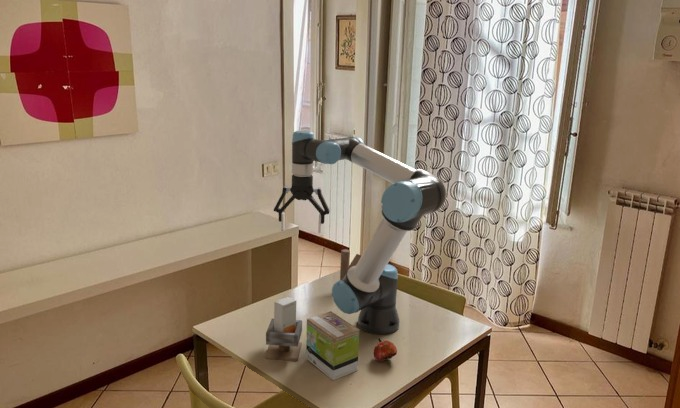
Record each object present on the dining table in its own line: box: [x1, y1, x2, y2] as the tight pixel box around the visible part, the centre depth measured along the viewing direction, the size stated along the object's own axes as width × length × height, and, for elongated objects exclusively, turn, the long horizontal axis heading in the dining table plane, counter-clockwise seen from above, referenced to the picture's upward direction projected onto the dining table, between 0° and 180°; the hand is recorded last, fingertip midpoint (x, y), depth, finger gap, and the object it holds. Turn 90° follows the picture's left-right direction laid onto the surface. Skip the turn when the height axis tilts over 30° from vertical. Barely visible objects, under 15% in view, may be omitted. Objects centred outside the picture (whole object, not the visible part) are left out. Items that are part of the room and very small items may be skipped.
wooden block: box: [339, 248, 362, 281], centre depth 229 cm, size 4×11×18 cm, turn 135°
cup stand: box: [265, 318, 303, 362], centre depth 180 cm, size 10×10×9 cm
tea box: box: [305, 310, 360, 381], centre depth 172 cm, size 15×10×15 cm
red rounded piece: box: [373, 337, 398, 368], centre depth 177 cm, size 7×7×10 cm
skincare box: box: [273, 296, 297, 333], centre depth 178 cm, size 6×4×12 cm
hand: (301, 231), depth 203 cm, fingers open, 13 cm apart
